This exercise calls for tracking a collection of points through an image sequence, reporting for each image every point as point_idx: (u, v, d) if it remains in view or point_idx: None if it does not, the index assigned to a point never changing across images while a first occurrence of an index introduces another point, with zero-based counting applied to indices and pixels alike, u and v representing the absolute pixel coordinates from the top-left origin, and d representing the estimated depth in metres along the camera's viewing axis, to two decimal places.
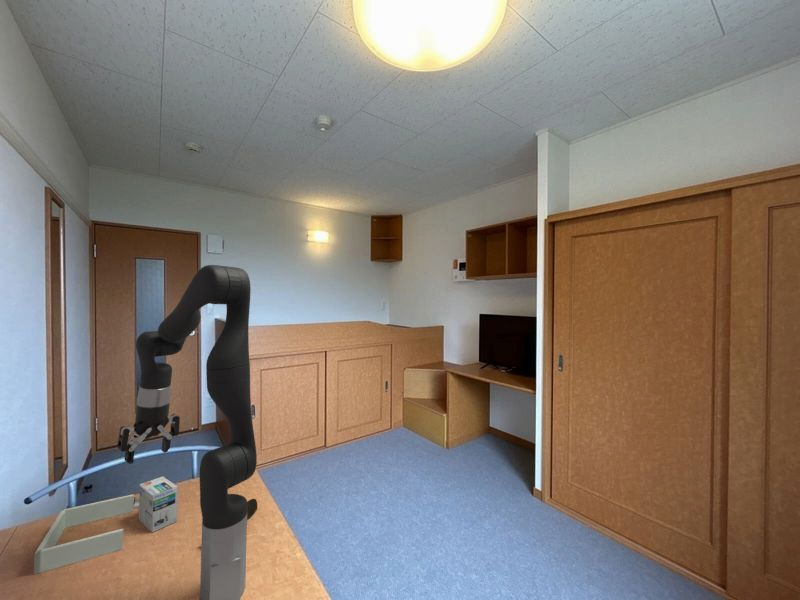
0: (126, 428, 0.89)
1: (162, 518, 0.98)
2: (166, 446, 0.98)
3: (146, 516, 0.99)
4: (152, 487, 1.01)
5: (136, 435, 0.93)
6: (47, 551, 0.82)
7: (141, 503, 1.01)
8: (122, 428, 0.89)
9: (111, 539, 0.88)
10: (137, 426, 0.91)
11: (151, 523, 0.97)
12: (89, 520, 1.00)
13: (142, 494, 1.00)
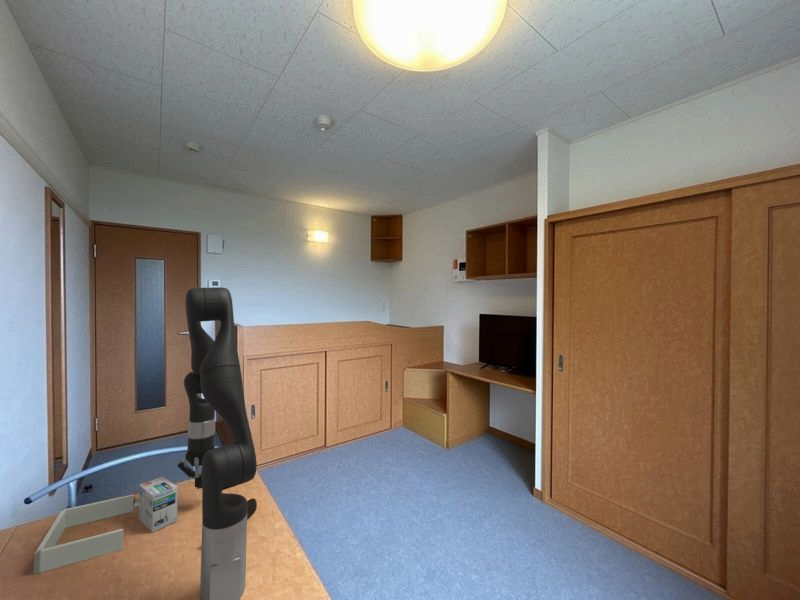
0: (179, 462, 1.04)
1: (162, 518, 0.98)
2: (200, 482, 1.07)
3: (146, 516, 0.99)
4: (152, 487, 1.01)
5: None
6: (47, 551, 0.82)
7: (141, 503, 1.01)
8: None
9: (111, 539, 0.88)
10: (185, 457, 1.05)
11: (151, 523, 0.97)
12: (89, 520, 1.00)
13: (142, 494, 1.00)
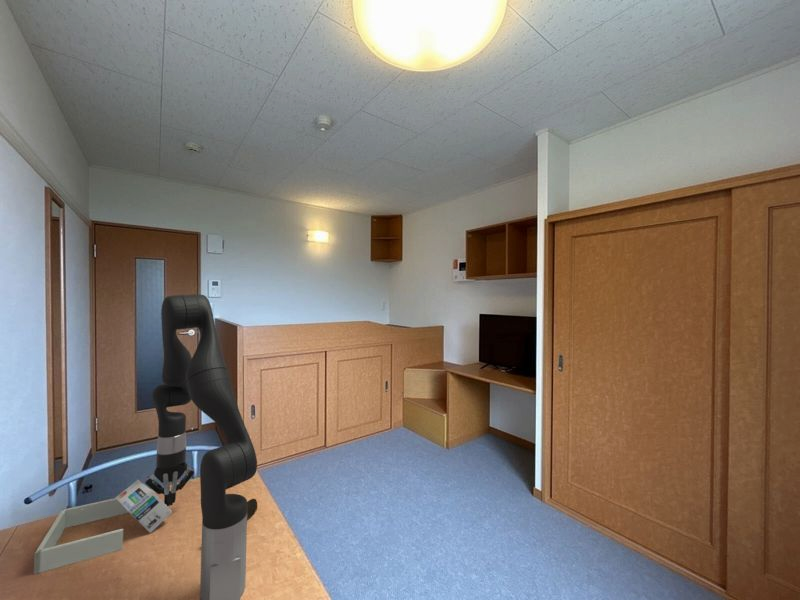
0: (147, 479, 1.00)
1: (153, 519, 0.96)
2: (170, 499, 1.03)
3: None
4: (127, 498, 0.96)
5: None
6: (47, 551, 0.82)
7: None
8: (146, 480, 1.01)
9: (111, 539, 0.88)
10: (154, 473, 1.01)
11: (144, 527, 0.95)
12: (89, 520, 1.00)
13: None
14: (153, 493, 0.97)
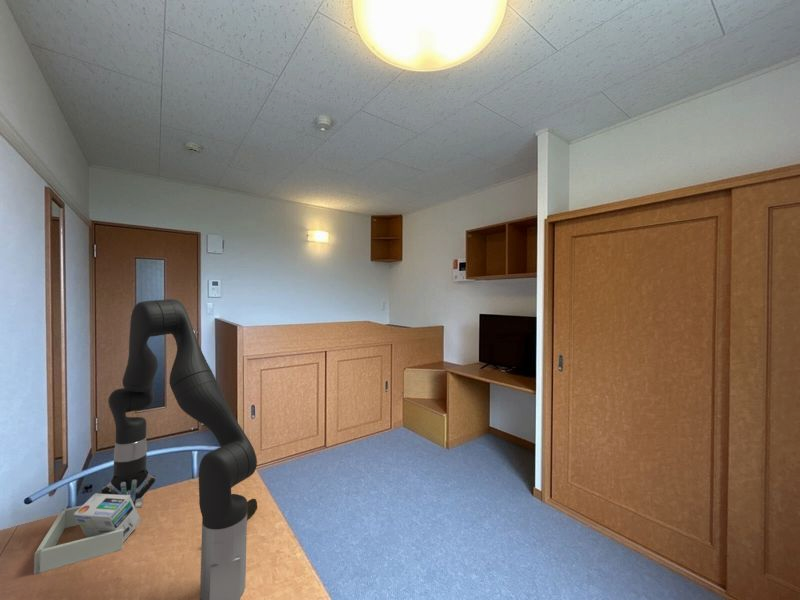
0: (103, 488, 0.95)
1: (127, 527, 0.93)
2: None
3: None
4: (96, 509, 0.90)
5: None
6: (47, 551, 0.82)
7: (88, 527, 0.90)
8: (102, 489, 0.96)
9: (111, 539, 0.88)
10: (111, 482, 0.96)
11: None
12: None
13: (85, 520, 0.89)
14: (130, 498, 0.94)
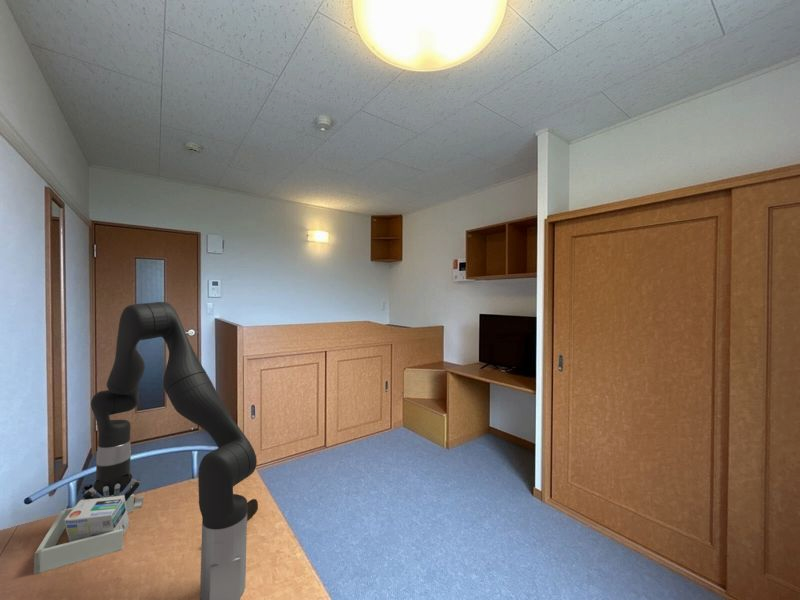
0: (85, 492, 0.93)
1: None
2: None
3: None
4: (91, 511, 0.88)
5: None
6: (47, 551, 0.82)
7: (79, 533, 0.87)
8: (84, 494, 0.93)
9: (111, 539, 0.88)
10: (93, 486, 0.94)
11: None
12: None
13: (78, 525, 0.87)
14: (124, 499, 0.94)
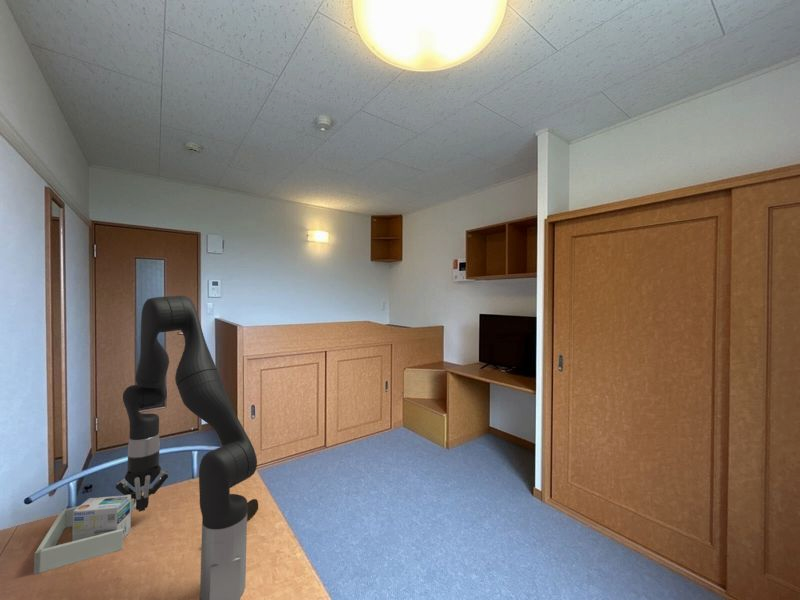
0: (117, 484, 0.97)
1: None
2: (142, 504, 0.99)
3: None
4: (99, 505, 0.91)
5: None
6: (47, 551, 0.82)
7: (83, 528, 0.89)
8: (116, 485, 0.97)
9: (111, 539, 0.88)
10: (125, 477, 0.97)
11: None
12: None
13: (85, 518, 0.89)
14: (130, 499, 0.97)
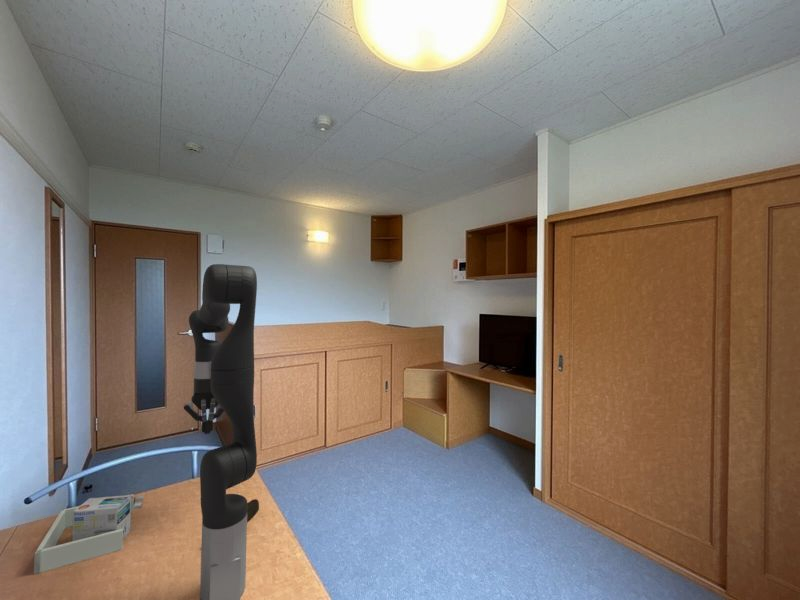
0: (185, 405, 0.99)
1: None
2: (208, 427, 1.01)
3: None
4: (99, 505, 0.91)
5: None
6: (47, 551, 0.82)
7: (83, 529, 0.89)
8: None
9: (111, 539, 0.88)
10: (192, 399, 0.99)
11: None
12: None
13: (85, 518, 0.89)
14: (130, 499, 0.97)
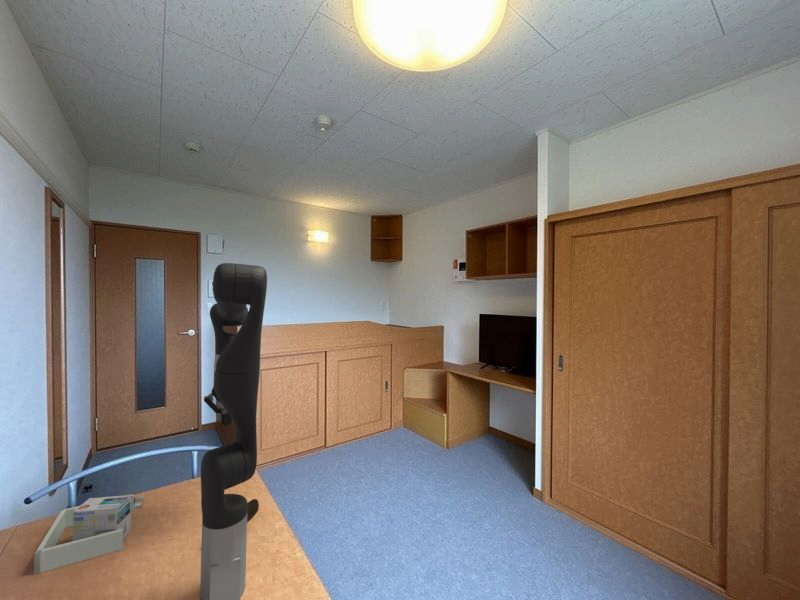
0: (205, 397, 0.99)
1: None
2: (227, 420, 1.02)
3: None
4: (99, 505, 0.91)
5: None
6: (47, 551, 0.82)
7: (83, 529, 0.89)
8: None
9: (111, 539, 0.88)
10: (212, 392, 1.00)
11: None
12: None
13: (85, 518, 0.89)
14: (130, 499, 0.97)
